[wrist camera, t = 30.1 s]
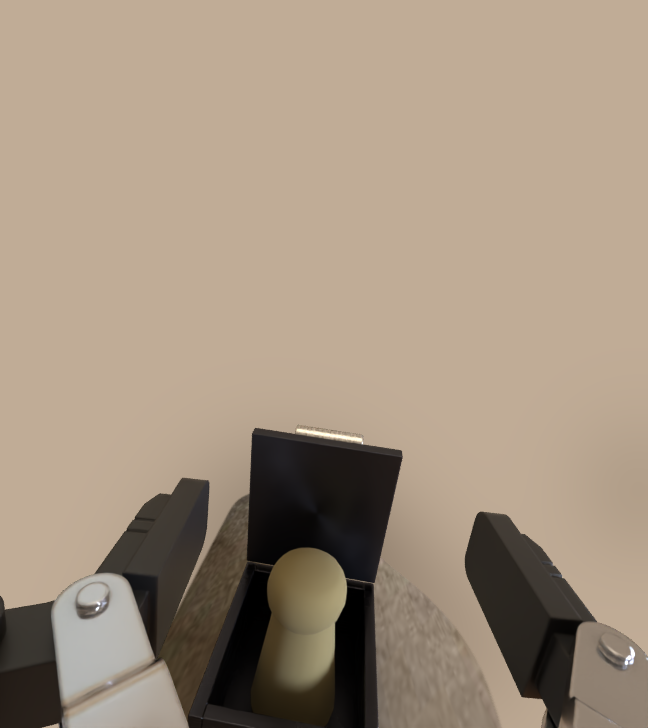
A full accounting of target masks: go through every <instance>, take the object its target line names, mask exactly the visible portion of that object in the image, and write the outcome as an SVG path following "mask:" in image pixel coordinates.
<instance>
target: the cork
mask: <svg viewBox="0 0 648 728" xmlns="http://www.w3.org/2000/svg"><path fill="white" fill-rule="evenodd" d="M346 593H347V584H346V578H345V575H344V572H343V570H342V568H341V566H340V565H339V564H338V562H337V561H336V559H335V558H333V557H332V556H331V555H329V554H328V553H326V552H324V551H322V550H319V549H315V548H297V549H294V550H291V551H289V552H287V553H286V554H284V555H283V556H282V557H281V558H280V559H279V560H278V561H277V562H276V564H275V565H274V566H273V568H272V571H271V573H270V576H269V579H268V584H267V595H268V603H269V607H270V609H271V612H272V614H271V618H270V622H269V625H268V629H267V633H266V636H265V640H264V643H263V647H262V651H261V654H260V658H259V662H258V665H257V669H256V673H255V676H254V680H253V684H252V687H251V707H252V710H253V713H258V714H263V715H268V716H273V717H278V718H283V719H288V720H293V721H298V722H303V723H308V724H313V725H318V726H323V727H325V725H326V724H327V723H328V721H329V719H330V716H331V714H332V712H333V709H334V699H335V622H336V621H337V619H338V617H339V615H340V613H341V611H342V609H343V607H344V605H345V601H346Z"/></svg>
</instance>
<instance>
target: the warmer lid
mask: <svg viewBox="0 0 648 728" xmlns="http://www.w3.org/2000/svg"><path fill="white" fill-rule="evenodd" d="M402 457H403V456H402V451H401V450H395V449H389V448H382V447H376V446H369V445H363V435H360V434H354V433H347V432H341V431H334V430H328V429H321V428H315V427H308V426H301V425H298V426H297V427H296V431H295V434H292V433H285V432H279V431H272V430H265V429H259V428H255V429H254V431H253V433H252V450H251V472H250V496H249V520H248V544H247V561H252V562H258V563H264V564H270V565H275V564H276V562H277V561H278V560H279V559H280V558H281V557H282V556H283V555H284V554H286V553H287V552H289V551H291V550H294V549H297V548H315V549H319V550H322V551H324V552H326V553H328V554H329V555H331V556H332V557H333V558H335V559H336V561H337V562H338V564H339V565H340V566H341V568H342V570H343V572H344V575H345V578H349V579H355V580H360V581H366V582H372V583H374V582H375V578H376V574H377V569H378V565H379V560H380V556H381V551H382V547H383V543H384V538H385V533H386V529H387V525H388V520H389V515H390V511H391V507H392V502H393V498H394V493H395V489H396V484H397V480H398V475H399V471H400V466H401V462H402Z"/></svg>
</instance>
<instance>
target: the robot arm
mask: <svg viewBox="0 0 648 728" xmlns="http://www.w3.org/2000/svg"><path fill="white" fill-rule="evenodd" d="M208 501H209V481H208V480H198V479H190V478H182V479H181V480H180V482H179V483H178V485H177V487H176V488H175V490H174V491H173V493H172V494H171V495H168V494H158V495H157V496H155V497H154V498H152V499H151V500H149V501H148V502H147V503H145V504H144V505H143V507H142V508H141V509H140V511H139V512H138V514H137V515H136V516H135V519H134V520H133V521H132V522H131V524H130V525H129V526H128V528H127V530H126V531H125V532H124V533H123V535H122V536H121V538H120V539H119V540H118V542H117V543H116V544H115V546H114V547H113V549H112V550H111V551H110V553H109V554H108V556H107V557H106V558H105V560H104V561H103V563H102V564H101V566H100V567H99V568H98V570H97V571H96V573H95V574H93V575H90V576H87V577H84V578H82V579H80V580H78V581H76V582H74V583H73V584H71V585H70V586H68V587H67V588H66V589H65V590H63V592H61V594H60V595H59V596H58V597H57V599H56V600H55V601H51V602H47V603H42V604H36V605H30V606H24V607H19V608H12V609H6V610H5V607H4V601H3V599H2V597H1V596H0V728H42V727H46V726H50V725H54V724H57V723H59V728H189V726H188V723H187V720H186V717H185V715H184V712H183V709H182V706H181V703H180V701H179V698H178V695H177V692H176V689H175V687H174V684H173V681H172V678H171V675H170V673H169V670H168V667H167V665H166V663H165V661H164V660H163V659H162V658H159V659H157V658H158V655H159V653H160V650H161V648H162V646H163V643H164V641H165V638H166V636H167V633H168V631H169V628H170V626H171V623H172V621H173V619H174V616H175V614H176V611H177V609H178V606H179V604H180V601H181V599H182V597H183V594H184V592H185V589H186V587H187V584H188V582H189V579H190V577H191V574H192V572H193V570H194V567H195V565H196V562H197V560H198V557H199V555H200V552H201V550H202V547H203V544H204V540H205V535H206V530H207V517H208ZM465 569H466V574H467V577H468V580H469V582H470V584H471V586H472V589H473V591H474V593H475V595H476V597H477V600H478V602H479V604H480V606H481V608H482V611H483V613H484V615H485V617H486V619H487V622H488V624H489V626H490V628H491V630H492V633H493V635H494V637H495V639H496V641H497V644H498V646H499V648H500V650H501V652H502V654H503V657H504V659H505V661H506V664H507V666H508V668H509V670H510V672H511V674H512V677H513V679H514V681H515V683H516V685H517V688H518V690H519V692H520V694H521V697H525V698H537V699H543V701H544V704H545V706H546V708H547V709H546V711H545V714H544V717H543V720H542V725H541V728H648V657H647V655H646V654H645V652H643V650H642V649H641V648H640V647H639V646H638V645H637V644H635V643H634V642H633V641H632V640H631V639H629V638H628V637H627V636H625V635H624V634H622V633H621V632H619V631H617V630H616V629H614V628H611V627H610V626H607V625H604V624H602V623H598V622H597V621H596V620H595V618H594V617H593V616H592V614H591V613H590V612H589V611H588V609H587V608H586V607H585V605H584V604H583V602H582V601H581V600H580V599H579V597H578V596H577V594H576V593H575V592H574V591H573V589H572V588H571V587H570V585H569V584H568V583H567V581H566V580H565V579H564V578H562V575H561V573H560V572H559V571H558V569H557V568H556V567H555V566H553V563H552V562H551V560H550V559H549V557H548V556H547V555H546V553H545V552H544V551H543V549H542V548H541V547H540V546H538V545H537V544H536V543H535V542H534V541H532V540H531V539H530V538H529V537H528V536H526V535H525V534H521V533H520V532H519V530H518V529H517V528H516V526H515V525H514V524H513V522H512V521H511V519H510V518H509V517H508V516H507V515H504V514H497V513H487V512H479V513H478V514H477V516H476V518H475V522H474V525H473V529H472V533H471V536H470V540H469V543H468V547H467V551H466V555H465Z"/></svg>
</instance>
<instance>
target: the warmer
mask: <svg viewBox="0 0 648 728" xmlns="http://www.w3.org/2000/svg"><path fill="white" fill-rule="evenodd" d="M272 568H273V566H269V565H263V564H257V563H253V562H247V565H246V567H245V570H244V572H243V575H242V578H241V580H240V583H239V585H238V588H237V590H236V593H235V596H234V598H233V601H232V603H231V606H230V609H229V611H228V614H227V616H226V619H225V622H224V624H223V627H222V629H221V632H220V635H219V637H218V640H217V642H216V645H215V647H214V650H213V653H212V655H211V658H210V660H209V663H208V666H207V668H206V671H205V673H204V676H203V679H202V681H201V684H200V686H199V689H198V692H197V694H196V697H195V699H194V702H193V704H192V707H191V710H190V712H189V715H188V726H189V728H378V702H377V672H376V643H375V614H374V585H373V584H371V583H366V582H364V583H363V582H360V581H354V580H348V579H346V584H347V593H346V601H345V605H344V607H343V609H342V611H341V613H340V615H339V617H338V619H337V621H336V622H335V699H334V709H333V712H332V714H331V716H330V719H329V721H328V723H327V724H326V725H325V727H323V726H318V725H313V724H308V723H303V722H298V721H293V720H288V719H283V718H278V717H273V716H268V715H263V714H258V713H253V710H252V707H251V687H252V684H253V680H254V676H255V673H256V669H257V665H258V662H259V658H260V654H261V651H262V647H263V643H264V640H265V636H266V633H267V629H268V625H269V622H270V618H271V614H272V612H271V609H270V607H269V603H268V595H267V584H268V579H269V576H270V573H271V571H272Z"/></svg>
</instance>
